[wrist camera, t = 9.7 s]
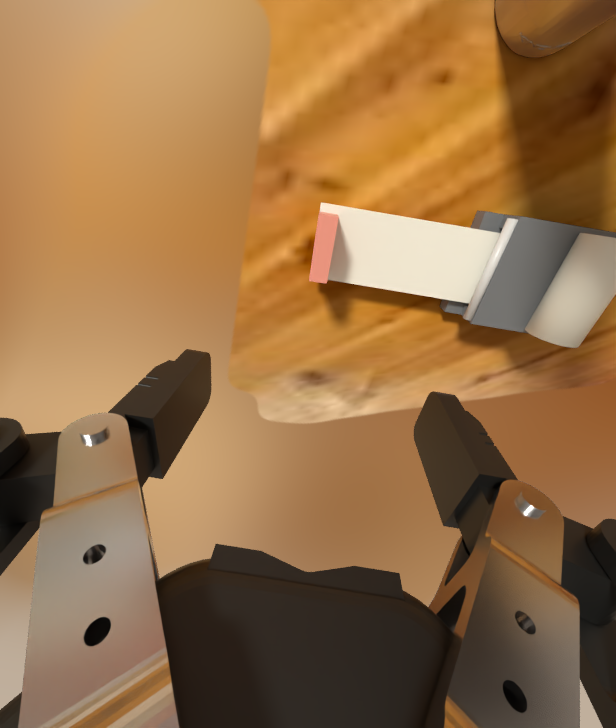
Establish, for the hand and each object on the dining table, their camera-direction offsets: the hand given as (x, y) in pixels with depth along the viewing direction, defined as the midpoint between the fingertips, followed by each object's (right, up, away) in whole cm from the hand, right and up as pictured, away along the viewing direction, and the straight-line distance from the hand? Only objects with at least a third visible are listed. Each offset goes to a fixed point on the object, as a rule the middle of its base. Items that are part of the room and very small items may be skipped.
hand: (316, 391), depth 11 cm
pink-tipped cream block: (+10, +13, +22) cm, 27 cm away
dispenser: (+24, +12, +24) cm, 36 cm away
